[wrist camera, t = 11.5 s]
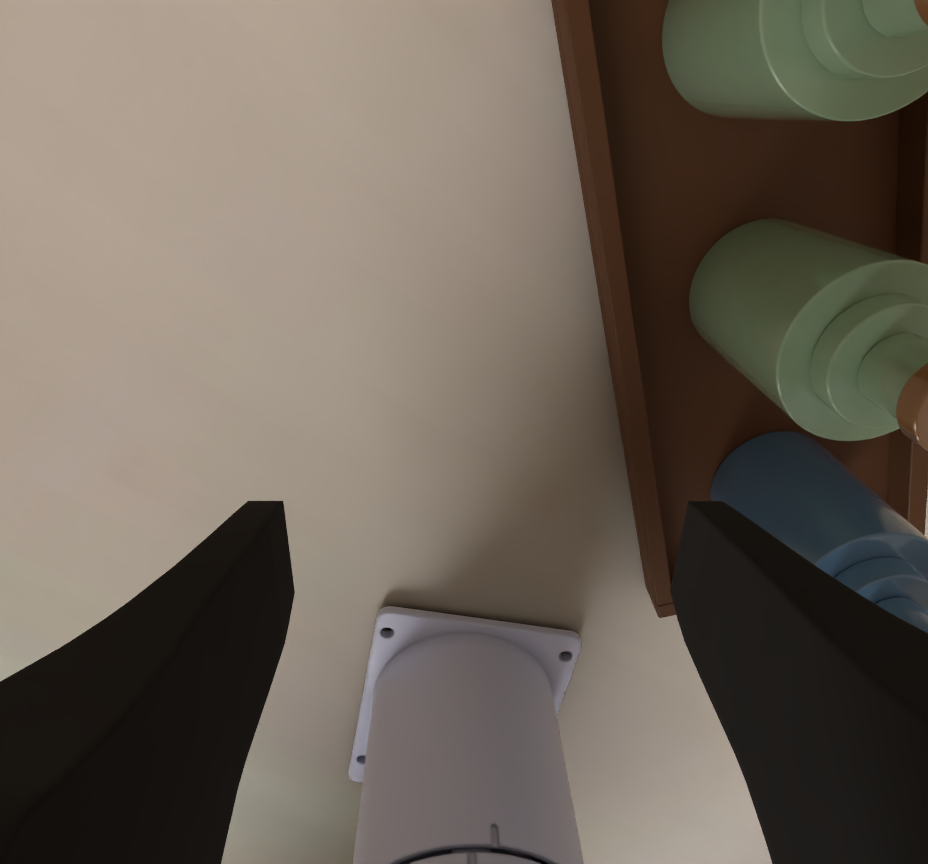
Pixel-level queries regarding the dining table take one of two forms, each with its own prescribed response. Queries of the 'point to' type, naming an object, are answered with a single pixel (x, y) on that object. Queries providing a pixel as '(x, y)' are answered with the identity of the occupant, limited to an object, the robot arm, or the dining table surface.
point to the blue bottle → (829, 519)
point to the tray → (693, 234)
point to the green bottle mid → (820, 327)
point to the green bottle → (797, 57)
